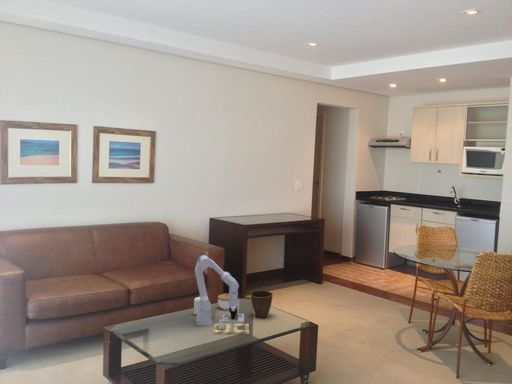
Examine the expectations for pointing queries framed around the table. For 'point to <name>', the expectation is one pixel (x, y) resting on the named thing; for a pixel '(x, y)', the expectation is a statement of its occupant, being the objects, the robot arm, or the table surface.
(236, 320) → the loose billet
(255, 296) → the plant pot
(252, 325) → the table surface
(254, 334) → the table surface
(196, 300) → the photo printer
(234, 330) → the wooden frame board
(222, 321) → the block
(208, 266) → the robot arm
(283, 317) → the table surface
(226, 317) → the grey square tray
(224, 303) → the lidded bowl
